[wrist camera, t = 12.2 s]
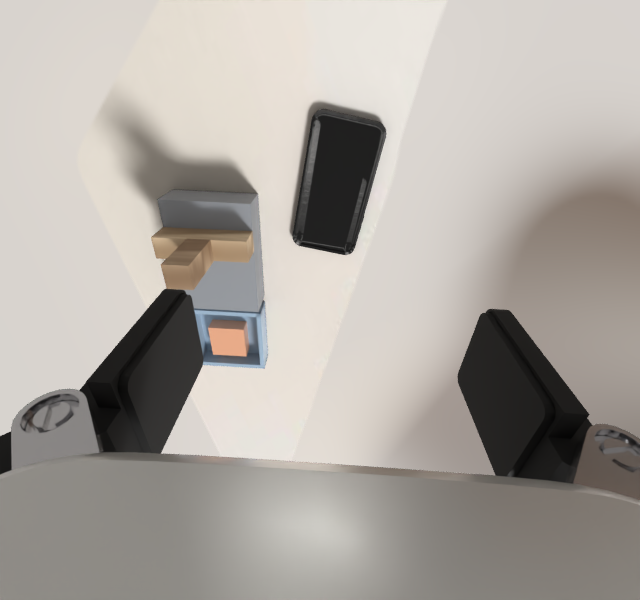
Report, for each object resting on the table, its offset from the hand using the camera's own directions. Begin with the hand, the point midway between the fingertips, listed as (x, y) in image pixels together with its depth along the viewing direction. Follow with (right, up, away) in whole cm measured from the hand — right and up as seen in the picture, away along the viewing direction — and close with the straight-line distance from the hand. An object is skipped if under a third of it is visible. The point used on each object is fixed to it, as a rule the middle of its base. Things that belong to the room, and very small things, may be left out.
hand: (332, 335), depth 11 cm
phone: (+1, +14, +27) cm, 31 cm away
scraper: (-13, +8, +27) cm, 31 cm away
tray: (-13, -3, +39) cm, 41 cm away
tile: (-14, -5, +37) cm, 40 cm away
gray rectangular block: (-13, +8, +32) cm, 35 cm away
